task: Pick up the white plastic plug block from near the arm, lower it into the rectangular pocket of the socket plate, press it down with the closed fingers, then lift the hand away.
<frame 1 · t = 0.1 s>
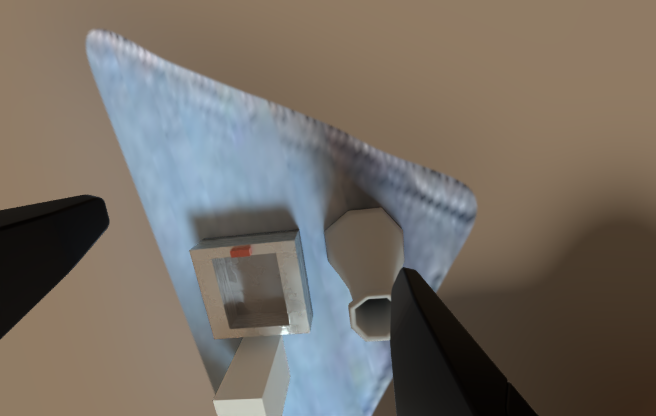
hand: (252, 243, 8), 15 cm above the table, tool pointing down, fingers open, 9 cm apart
flask: (364, 243, 25), on the table
plug: (267, 356, 29), on the table
socket: (260, 278, 26), on the table
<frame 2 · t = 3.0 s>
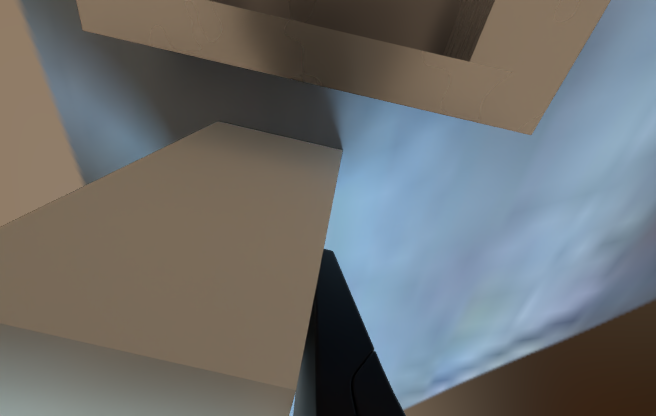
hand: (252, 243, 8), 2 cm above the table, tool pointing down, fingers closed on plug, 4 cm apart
plug: (272, 209, 10), on the table, touching gripper
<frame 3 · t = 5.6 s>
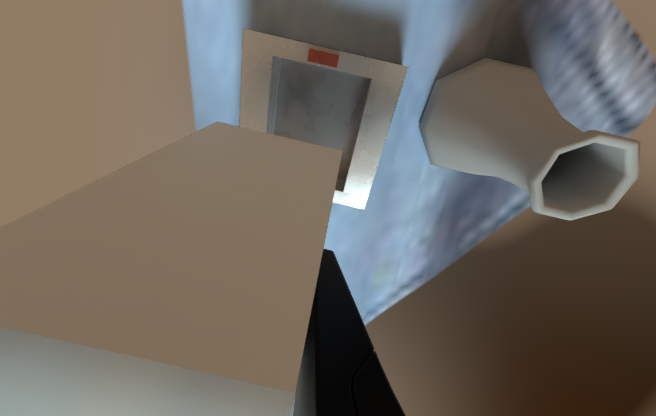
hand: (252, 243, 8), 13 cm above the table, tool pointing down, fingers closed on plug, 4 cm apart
flask: (474, 119, 18), on the table
plug: (271, 209, 10), point 11 cm above the table, touching gripper
socket: (317, 122, 19), on the table
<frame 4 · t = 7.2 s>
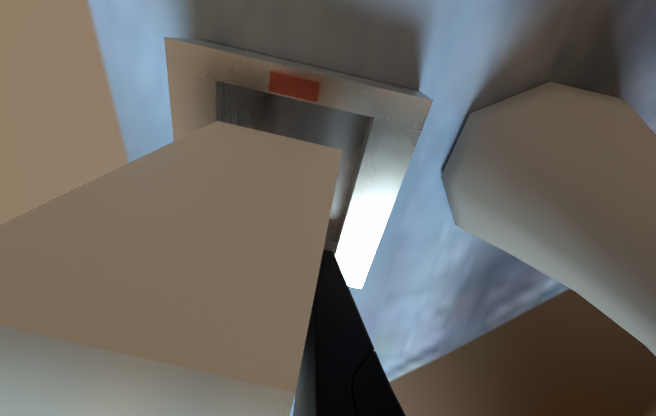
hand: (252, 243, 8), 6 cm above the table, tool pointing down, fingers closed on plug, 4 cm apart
flask: (521, 167, 12), on the table
plug: (271, 209, 10), point 4 cm above the table, touching gripper
socket: (296, 166, 13), on the table
when the fingers open (3 cm above the table, at t = 8.2 s): plug stays where it is, resting on socket.
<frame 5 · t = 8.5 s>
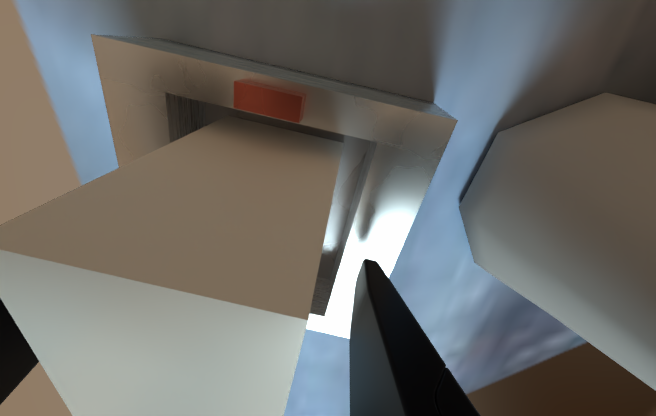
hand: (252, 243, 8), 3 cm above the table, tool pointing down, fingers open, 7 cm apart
flask: (558, 195, 10), on the table
plug: (277, 199, 11), resting on socket
socket: (281, 193, 11), on the table
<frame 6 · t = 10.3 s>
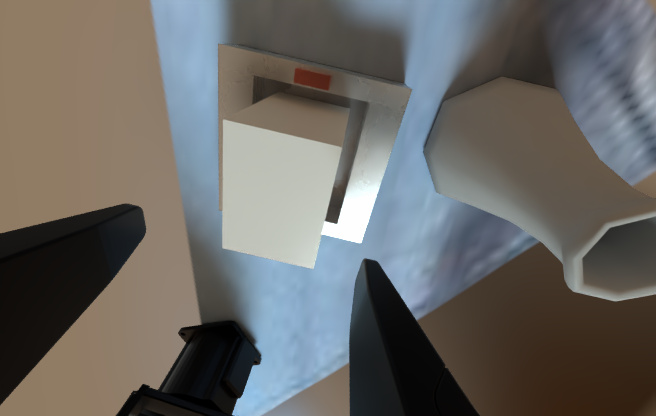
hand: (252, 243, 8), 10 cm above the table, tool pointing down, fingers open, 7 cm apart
flask: (486, 144, 16), on the table
plug: (306, 147, 16), resting on socket
socket: (308, 145, 17), on the table
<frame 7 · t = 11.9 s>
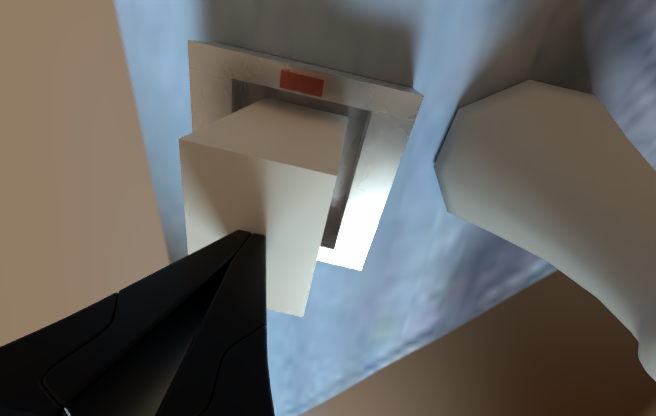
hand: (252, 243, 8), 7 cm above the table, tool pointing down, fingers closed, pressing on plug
flask: (506, 157, 14), on the table
plug: (298, 161, 14), resting on socket, touching gripper
socket: (301, 158, 15), on the table
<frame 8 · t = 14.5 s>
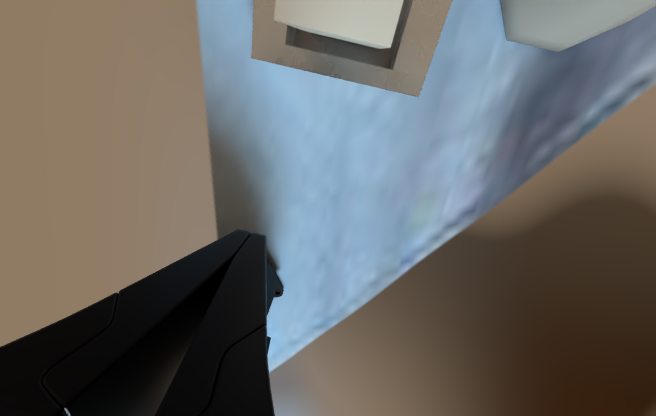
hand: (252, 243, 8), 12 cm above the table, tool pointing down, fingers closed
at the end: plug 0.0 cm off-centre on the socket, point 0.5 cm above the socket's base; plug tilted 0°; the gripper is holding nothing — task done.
